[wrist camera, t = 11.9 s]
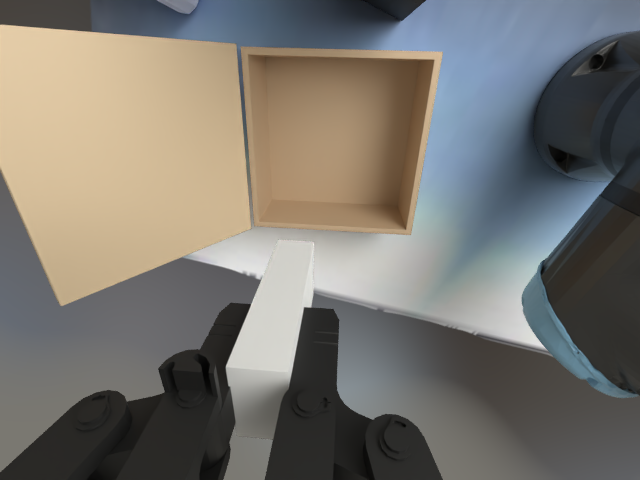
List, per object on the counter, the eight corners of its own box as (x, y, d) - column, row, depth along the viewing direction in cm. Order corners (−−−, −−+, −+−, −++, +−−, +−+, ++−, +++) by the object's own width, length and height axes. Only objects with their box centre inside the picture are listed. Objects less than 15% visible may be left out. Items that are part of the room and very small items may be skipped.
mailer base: (424, 54, 36) (443, 51, 29) (400, 208, 44) (410, 235, 37) (261, 50, 37) (240, 46, 30) (268, 201, 45) (254, 226, 38)
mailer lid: (-65, 19, 17) (-67, 20, 17) (61, 306, 25) (57, 301, 26) (236, 43, 29) (230, 43, 30) (251, 228, 38) (246, 226, 38)
